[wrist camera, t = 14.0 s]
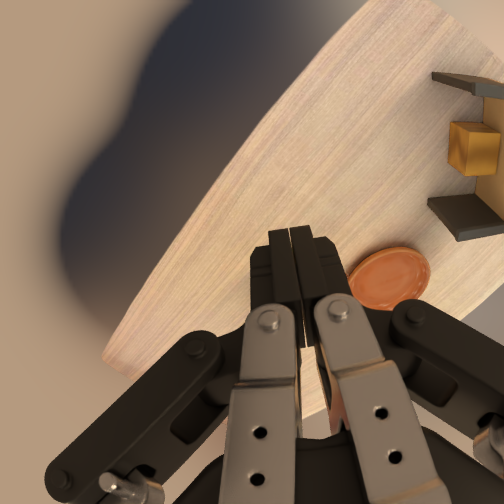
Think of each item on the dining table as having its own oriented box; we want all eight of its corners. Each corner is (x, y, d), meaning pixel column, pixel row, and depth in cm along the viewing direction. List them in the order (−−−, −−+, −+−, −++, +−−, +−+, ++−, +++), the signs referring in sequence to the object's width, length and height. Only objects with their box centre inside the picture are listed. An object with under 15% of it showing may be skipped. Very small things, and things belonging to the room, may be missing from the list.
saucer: (360, 319, 58) (363, 330, 56) (326, 269, 50) (330, 281, 48) (430, 282, 53) (436, 293, 50) (411, 223, 45) (419, 233, 42)
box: (449, 121, 34) (469, 132, 30) (481, 122, 34) (501, 133, 30) (447, 162, 38) (465, 176, 34) (477, 161, 38) (495, 174, 34)
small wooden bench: (426, 206, 43) (479, 272, 30) (431, 70, 30) (512, 95, 17) (478, 199, 42) (533, 257, 29) (488, 77, 29) (566, 107, 16)
